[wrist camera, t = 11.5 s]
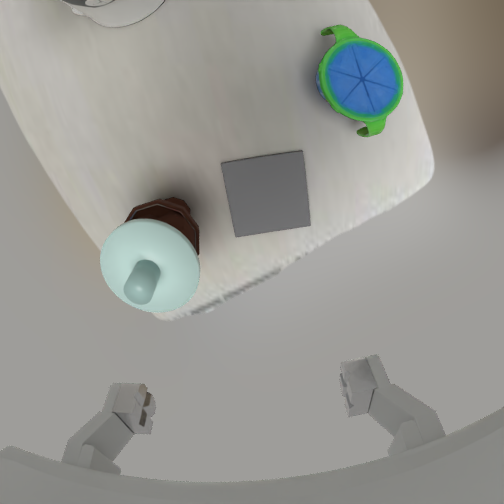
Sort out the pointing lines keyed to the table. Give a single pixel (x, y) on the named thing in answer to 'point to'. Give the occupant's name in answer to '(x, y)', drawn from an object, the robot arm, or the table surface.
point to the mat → (267, 193)
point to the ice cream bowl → (169, 217)
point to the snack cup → (359, 79)
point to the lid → (150, 265)
